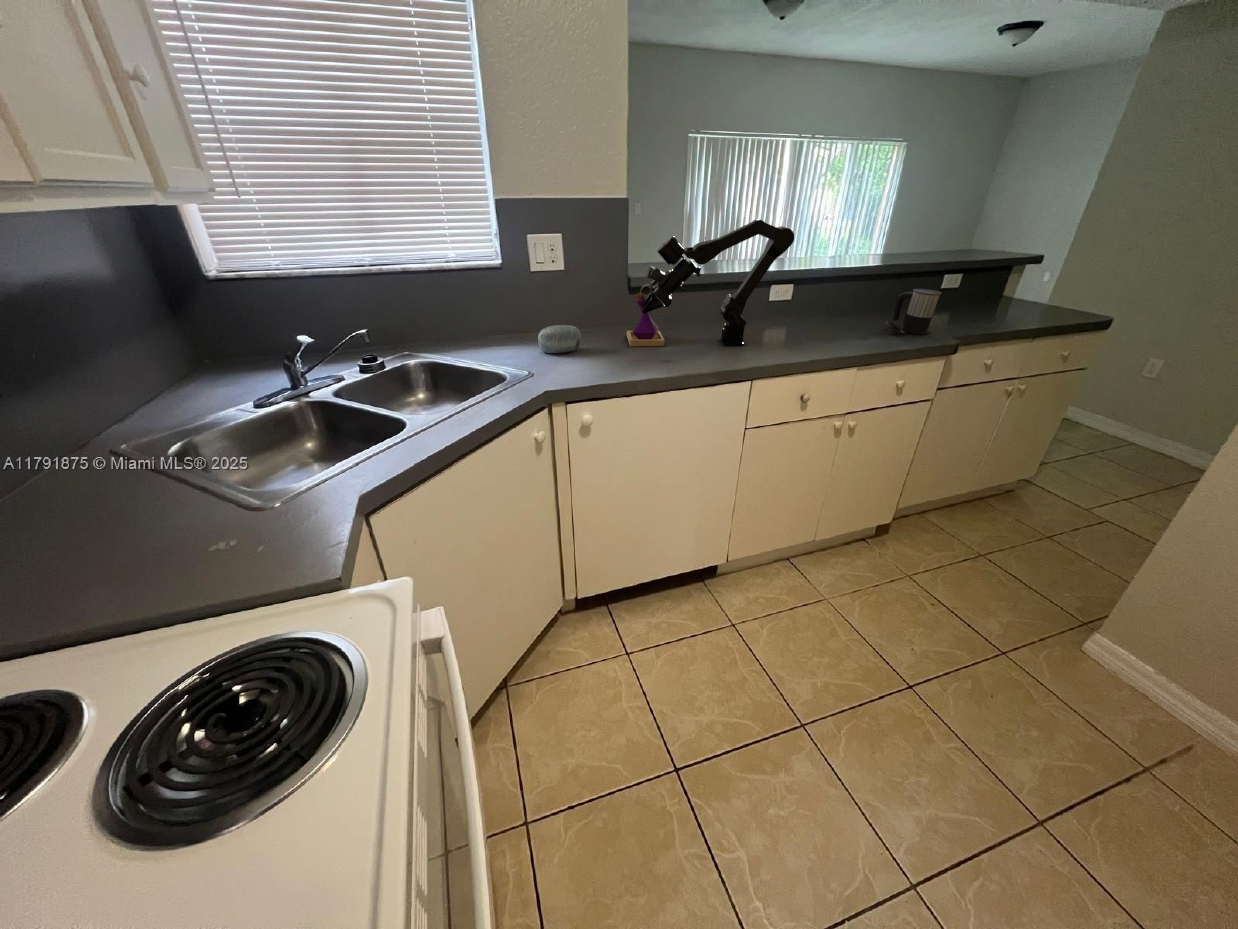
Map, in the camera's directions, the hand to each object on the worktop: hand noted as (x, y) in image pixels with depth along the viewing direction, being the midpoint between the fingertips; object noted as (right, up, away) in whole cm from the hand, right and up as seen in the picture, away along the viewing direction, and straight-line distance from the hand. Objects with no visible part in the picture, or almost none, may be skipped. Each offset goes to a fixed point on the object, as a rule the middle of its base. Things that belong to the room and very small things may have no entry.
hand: (642, 310), depth 163 cm
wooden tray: (+1, -9, +5) cm, 10 cm away
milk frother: (+101, -2, +21) cm, 103 cm away
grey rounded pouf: (-27, -16, -6) cm, 32 cm away
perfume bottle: (+2, -9, +5) cm, 10 cm away
